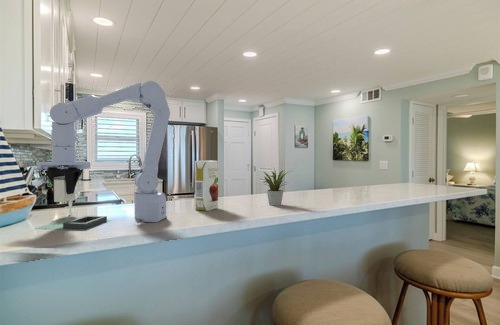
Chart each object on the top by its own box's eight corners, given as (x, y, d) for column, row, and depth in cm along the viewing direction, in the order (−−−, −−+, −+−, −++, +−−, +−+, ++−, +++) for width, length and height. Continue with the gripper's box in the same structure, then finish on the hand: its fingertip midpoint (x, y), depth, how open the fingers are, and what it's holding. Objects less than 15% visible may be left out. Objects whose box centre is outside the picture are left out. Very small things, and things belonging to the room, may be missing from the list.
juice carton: (191, 209, 109) (191, 160, 108) (205, 206, 116) (205, 160, 116) (207, 211, 105) (207, 160, 105) (220, 208, 113) (220, 160, 112)
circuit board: (112, 223, 87) (112, 215, 87) (86, 233, 75) (86, 224, 75) (67, 222, 88) (66, 214, 88) (34, 232, 76) (34, 223, 76)
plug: (64, 201, 79) (64, 177, 79) (54, 201, 80) (53, 177, 79) (76, 199, 85) (76, 175, 84) (66, 199, 85) (66, 175, 85)
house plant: (293, 202, 127) (294, 166, 127) (295, 207, 113) (296, 167, 113) (262, 201, 129) (262, 165, 128) (260, 207, 115) (260, 167, 114)
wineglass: (62, 216, 96) (62, 181, 96) (82, 215, 98) (81, 180, 98) (57, 220, 91) (57, 182, 90) (78, 218, 93) (78, 182, 92)
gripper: (96, 147, 85) (97, 192, 85) (50, 147, 86) (50, 191, 86) (81, 146, 78) (81, 195, 78) (30, 146, 79) (31, 195, 79)
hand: (64, 193), depth 82 cm, fingers closed on plug, 3 cm apart
